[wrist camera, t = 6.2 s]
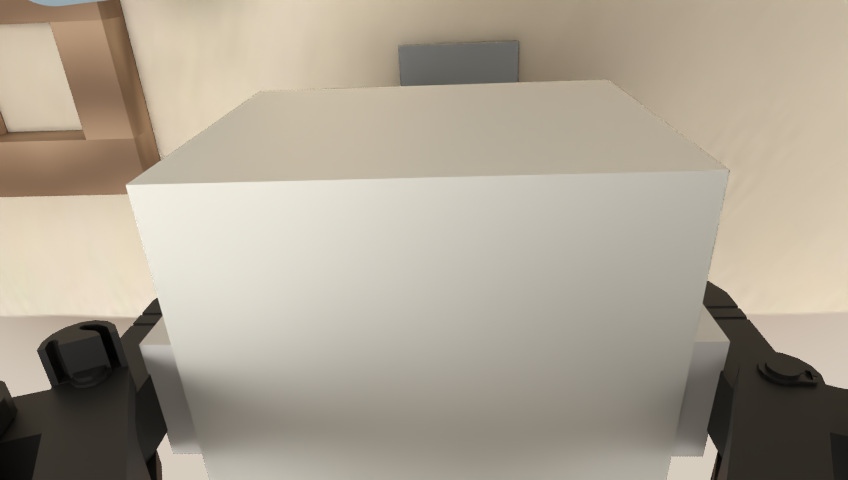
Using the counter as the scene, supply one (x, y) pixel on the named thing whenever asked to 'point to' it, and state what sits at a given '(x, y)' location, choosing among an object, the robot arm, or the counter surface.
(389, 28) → the counter surface
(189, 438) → the robot arm
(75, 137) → the socket board
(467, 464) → the cover
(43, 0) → the peg
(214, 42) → the counter surface
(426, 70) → the tile
